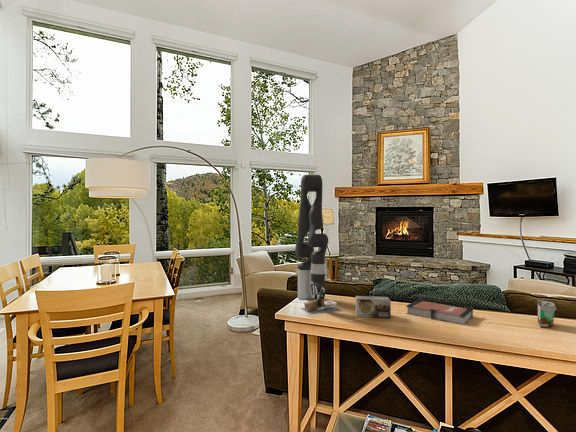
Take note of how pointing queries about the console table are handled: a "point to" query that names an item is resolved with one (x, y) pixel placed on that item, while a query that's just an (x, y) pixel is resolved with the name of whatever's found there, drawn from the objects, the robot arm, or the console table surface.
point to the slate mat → (322, 310)
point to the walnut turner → (313, 306)
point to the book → (440, 311)
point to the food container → (546, 314)
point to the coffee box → (373, 307)
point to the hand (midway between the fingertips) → (318, 305)
